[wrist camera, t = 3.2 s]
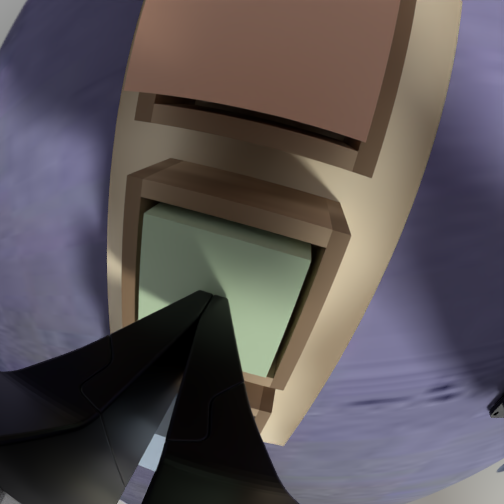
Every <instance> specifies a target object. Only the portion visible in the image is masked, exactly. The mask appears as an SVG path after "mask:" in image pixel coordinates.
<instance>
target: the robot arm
mask: <svg viewBox="0 0 504 504" xmlns="http://www.w3.org/2000/svg"><path fill="white" fill-rule="evenodd" d="M244 382H245V381H244V376H243V372H242V367H241V362H240V357H239V352H238V347H237V342H236V337H235V332H234V326H233V321H232V316H231V311H230V306H229V300H228V299H227V298H225V297H222V296H219V295H214V296H213V294H212V293H209V292H206V291H202V290H198V291H196V292H194V293H192V294H190V295H188V296H186V297H184V298H182V299H180V300H178V301H176V302H174V303H172V304H170V305H168V306H166V307H164V308H162V309H160V310H158V311H156V312H154V313H152V314H150V315H148V316H146V317H144V318H142V319H140V320H138V321H136V322H134V323H132V324H130V325H128V326H126V327H124V328H121V329H119V330H117V331H115V332H113V333H111V334H110V336H109V335H107V336H105V337H103V338H101V339H99V340H97V341H95V342H92V343H90V344H88V345H86V346H84V347H81V348H79V349H76V350H74V351H71V352H69V353H66V354H63V355H61V356H58V357H55V358H52V359H49V360H46V361H43V362H40V363H38V364H35V365H32V366H29V367H26V368H23V369H19V370H15V371H6V372H2V371H0V504H117V503H118V501H119V499H120V497H121V495H122V493H123V492H124V490H125V487H126V486H127V484H128V482H129V480H130V478H131V477H132V475H133V473H134V471H135V469H136V467H137V466H138V464H139V462H140V460H141V458H142V456H143V455H144V453H145V451H146V449H147V447H148V445H149V444H150V442H151V440H152V438H153V436H154V434H155V433H156V431H157V429H158V427H159V425H160V423H161V421H162V420H163V418H164V416H165V414H166V412H167V410H168V409H169V407H170V405H171V403H172V401H173V399H174V398H175V396H176V394H177V392H178V394H177V398H176V401H175V405H174V409H173V412H172V416H171V420H170V424H169V427H168V431H167V435H166V439H165V443H164V446H163V450H162V454H161V457H160V460H159V463H158V466H157V468H156V471H155V473H154V475H153V478H152V480H151V482H150V485H149V487H148V490H147V492H146V494H145V497H144V499H143V501H142V504H299V503H298V502H297V501H296V500H295V499H294V498H293V497H292V496H291V495H290V494H289V493H288V492H287V490H286V489H285V487H284V486H283V484H282V483H281V481H280V479H279V477H278V475H277V473H276V471H275V468H274V466H273V464H272V461H271V459H270V457H269V454H268V452H267V450H266V447H265V445H264V442H263V440H262V437H261V435H260V433H259V430H258V427H257V425H256V422H255V419H254V416H253V413H252V410H251V406H250V402H249V399H248V395H247V390H246V385H245V383H244ZM178 390H179V391H178ZM489 414H490V416H491V418H504V396H503V397H502V398H501V399H500V400H499V402H498V403H497V404H496V405H495V406H494V407H493V408H492V409H491V410H490V412H489Z"/></svg>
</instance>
